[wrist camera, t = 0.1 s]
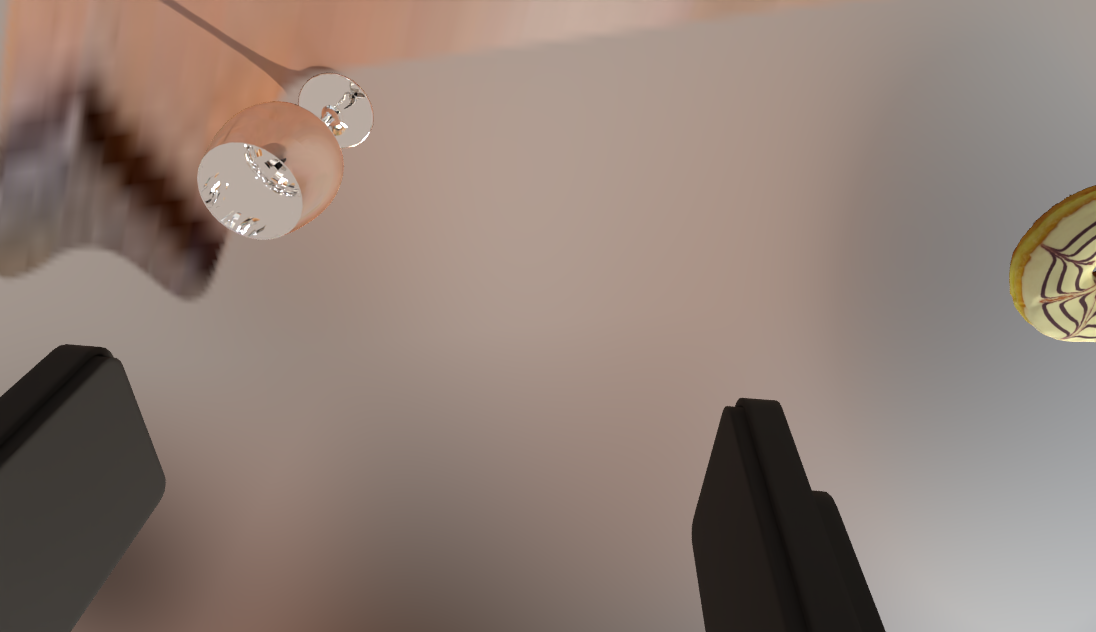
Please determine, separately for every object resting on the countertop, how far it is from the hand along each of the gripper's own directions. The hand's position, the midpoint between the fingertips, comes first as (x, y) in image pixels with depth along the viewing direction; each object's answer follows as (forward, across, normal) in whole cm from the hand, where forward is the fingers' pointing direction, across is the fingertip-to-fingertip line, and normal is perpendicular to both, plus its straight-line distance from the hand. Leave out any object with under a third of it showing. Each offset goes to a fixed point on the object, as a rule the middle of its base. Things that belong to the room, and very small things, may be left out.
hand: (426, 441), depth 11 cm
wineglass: (+31, +12, +5) cm, 34 cm away
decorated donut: (+31, -35, +10) cm, 48 cm away
